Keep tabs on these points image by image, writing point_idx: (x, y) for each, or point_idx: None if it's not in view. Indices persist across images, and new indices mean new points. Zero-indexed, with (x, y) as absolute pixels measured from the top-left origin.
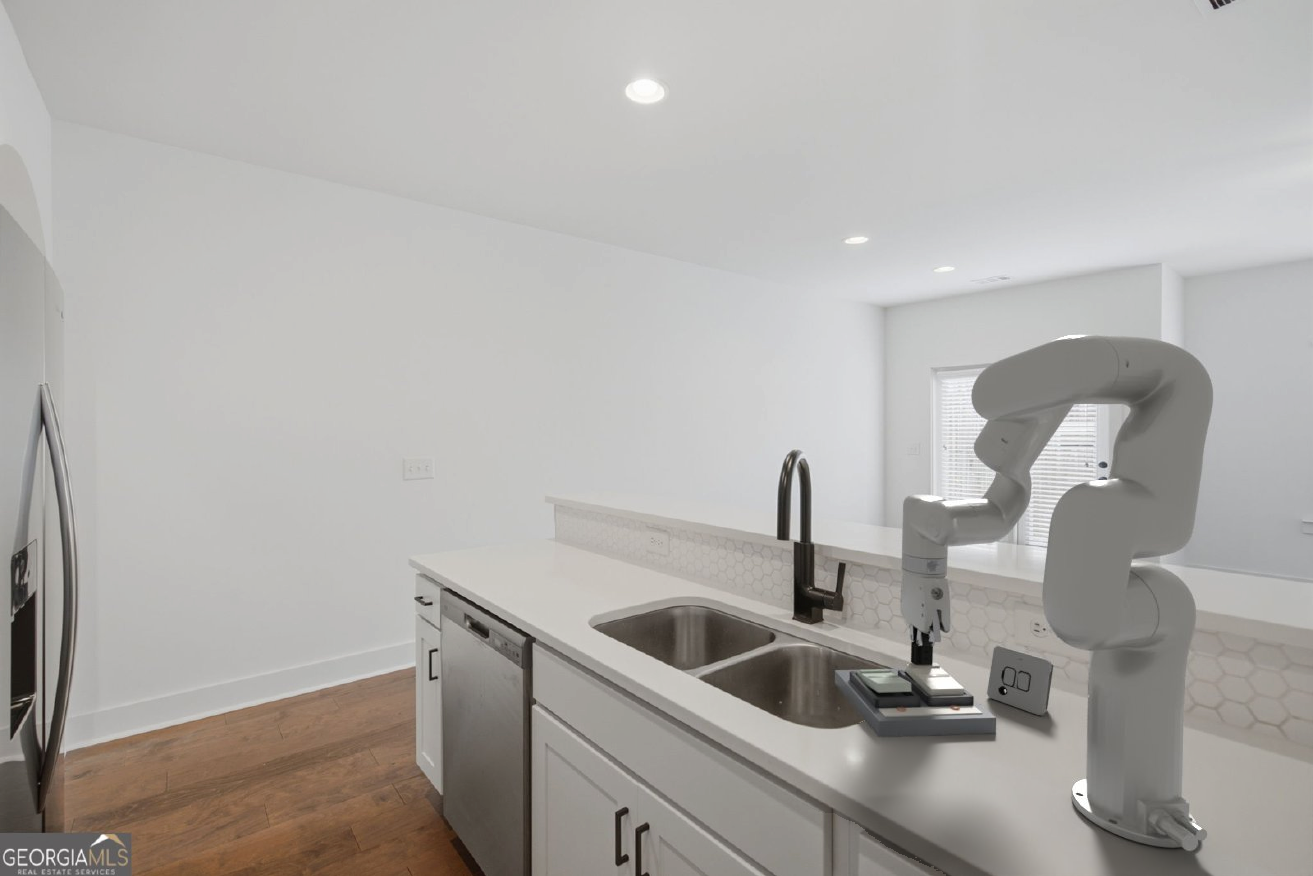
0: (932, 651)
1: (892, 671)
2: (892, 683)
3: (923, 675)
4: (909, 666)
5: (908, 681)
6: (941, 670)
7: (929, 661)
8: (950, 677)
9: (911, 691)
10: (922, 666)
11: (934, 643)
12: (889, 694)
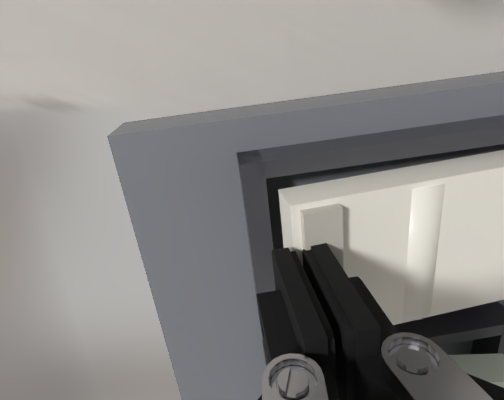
0: (356, 293)
1: (188, 320)
2: None
3: (423, 304)
4: None
5: (500, 382)
6: (373, 205)
7: (359, 280)
8: (448, 183)
9: (502, 353)
10: None
11: (441, 350)
12: None
